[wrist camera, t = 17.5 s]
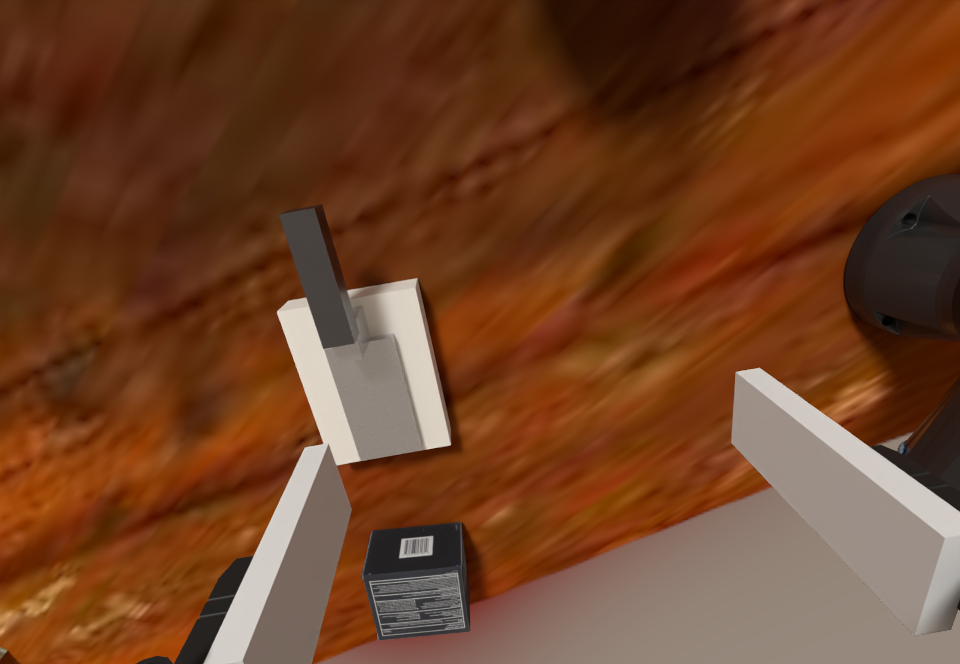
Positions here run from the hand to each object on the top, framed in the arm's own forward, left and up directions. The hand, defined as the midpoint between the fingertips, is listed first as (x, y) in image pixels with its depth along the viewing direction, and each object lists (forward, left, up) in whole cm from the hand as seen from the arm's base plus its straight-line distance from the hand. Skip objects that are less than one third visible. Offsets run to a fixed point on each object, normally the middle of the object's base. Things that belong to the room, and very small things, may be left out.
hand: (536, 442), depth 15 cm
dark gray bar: (+12, +5, -26) cm, 29 cm away
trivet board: (+12, +10, -29) cm, 33 cm away
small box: (+12, +30, -26) cm, 41 cm away
